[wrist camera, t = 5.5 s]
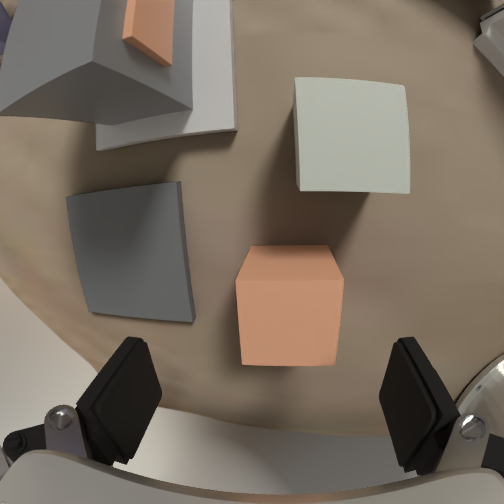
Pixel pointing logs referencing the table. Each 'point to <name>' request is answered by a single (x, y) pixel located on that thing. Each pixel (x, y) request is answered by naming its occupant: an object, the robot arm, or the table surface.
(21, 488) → the robot arm
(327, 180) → the grey block
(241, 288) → the terracotta block
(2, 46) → the robotic device
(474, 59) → the table surface
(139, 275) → the mat
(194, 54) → the mounted unit
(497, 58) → the white curved block
